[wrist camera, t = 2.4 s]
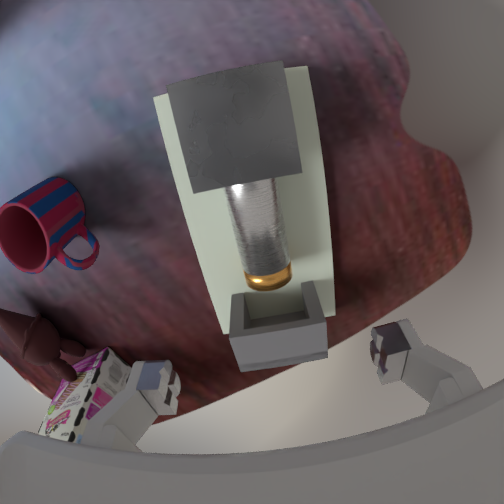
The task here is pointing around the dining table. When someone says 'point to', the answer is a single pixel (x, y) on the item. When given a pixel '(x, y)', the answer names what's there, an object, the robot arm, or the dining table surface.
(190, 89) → the dark grey cube cap
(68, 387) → the candy bar box
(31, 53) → the dining table surface
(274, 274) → the tube
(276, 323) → the socket
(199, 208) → the board
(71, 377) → the icecream
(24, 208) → the mug
